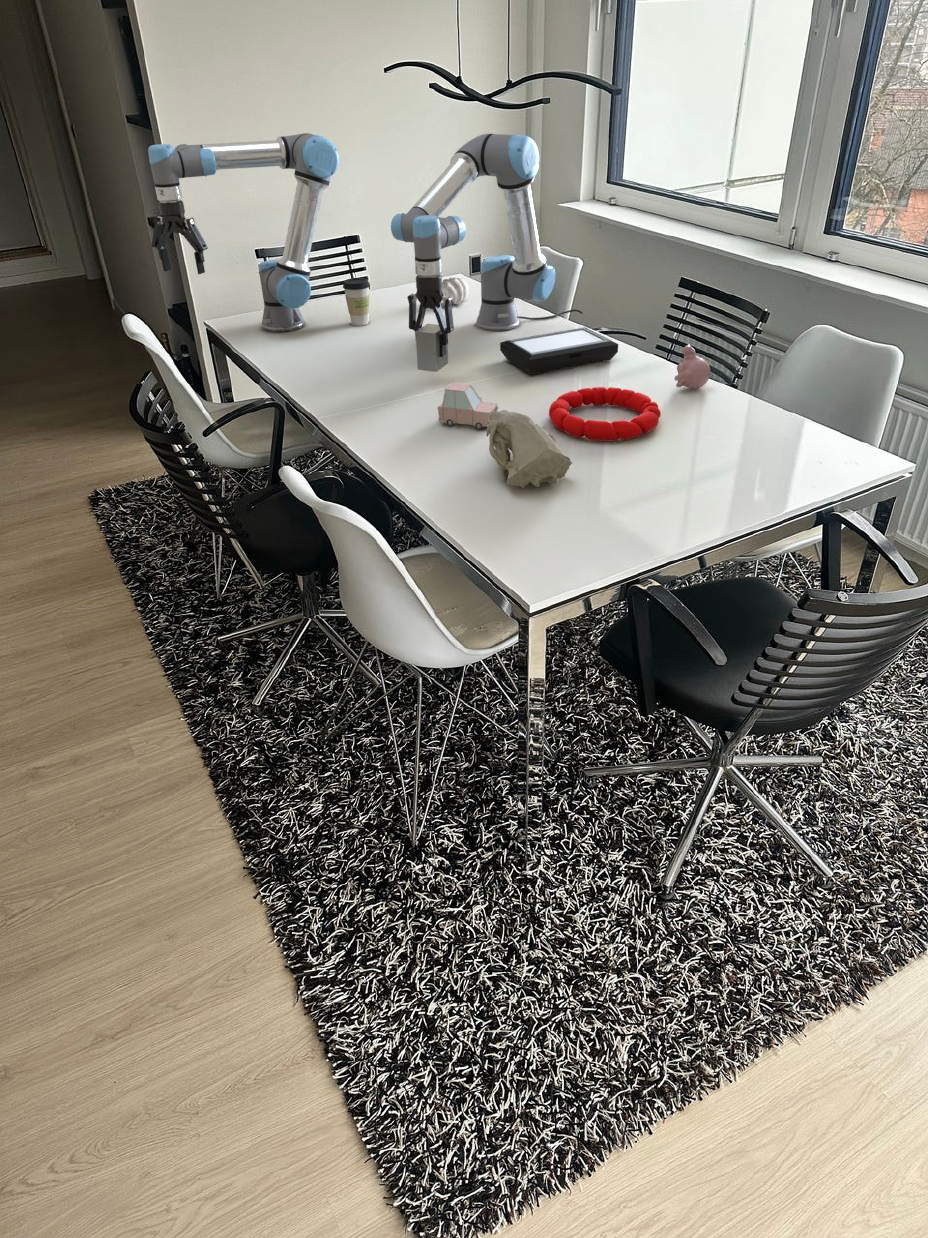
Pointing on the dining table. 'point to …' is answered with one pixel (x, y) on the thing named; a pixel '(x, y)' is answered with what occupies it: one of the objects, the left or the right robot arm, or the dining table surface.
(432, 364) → the block
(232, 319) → the dining table surface
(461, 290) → the seashell
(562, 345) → the electronic device
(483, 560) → the dining table surface
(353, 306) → the coffee cup
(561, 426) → the decorative ring
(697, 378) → the figurine
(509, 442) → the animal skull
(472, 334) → the dining table surface
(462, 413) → the toy car
